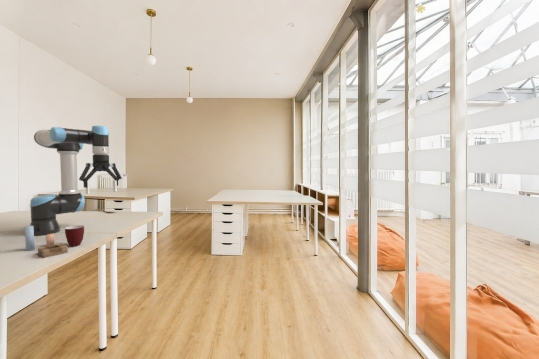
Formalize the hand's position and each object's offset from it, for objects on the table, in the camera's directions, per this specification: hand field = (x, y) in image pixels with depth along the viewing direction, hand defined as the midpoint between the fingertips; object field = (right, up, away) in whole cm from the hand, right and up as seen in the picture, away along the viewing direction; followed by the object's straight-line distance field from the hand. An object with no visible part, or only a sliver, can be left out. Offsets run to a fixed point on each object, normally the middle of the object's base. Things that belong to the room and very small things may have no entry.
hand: (101, 192), depth 139 cm
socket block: (-13, -29, -17) cm, 36 cm away
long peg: (-28, -28, -12) cm, 42 cm away
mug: (-12, -28, -4) cm, 31 cm away
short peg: (-24, -28, -6) cm, 37 cm away
